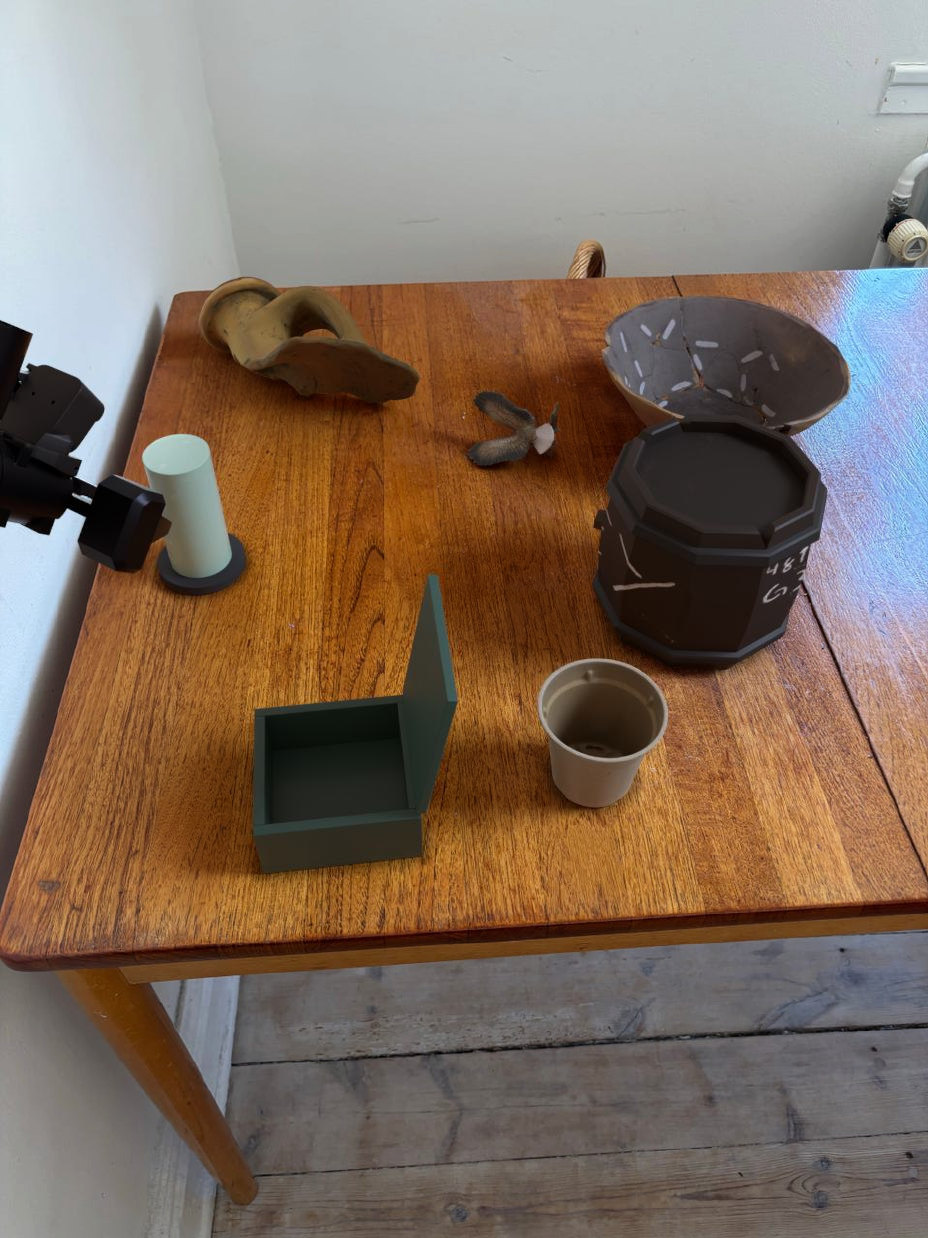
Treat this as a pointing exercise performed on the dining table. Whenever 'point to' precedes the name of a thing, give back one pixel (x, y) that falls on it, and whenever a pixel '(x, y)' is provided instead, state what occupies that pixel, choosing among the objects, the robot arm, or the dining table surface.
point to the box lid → (429, 694)
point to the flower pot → (599, 727)
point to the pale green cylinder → (189, 504)
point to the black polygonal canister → (706, 539)
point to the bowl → (724, 362)
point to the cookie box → (333, 785)
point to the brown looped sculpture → (301, 341)
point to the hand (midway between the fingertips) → (126, 507)
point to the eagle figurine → (519, 422)
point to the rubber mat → (206, 583)
